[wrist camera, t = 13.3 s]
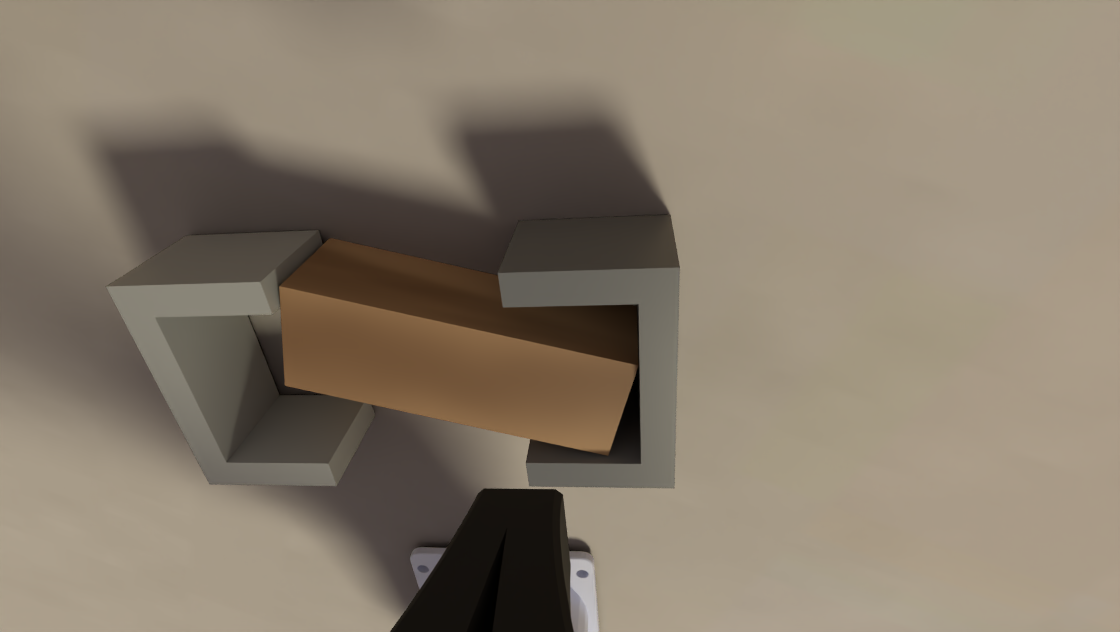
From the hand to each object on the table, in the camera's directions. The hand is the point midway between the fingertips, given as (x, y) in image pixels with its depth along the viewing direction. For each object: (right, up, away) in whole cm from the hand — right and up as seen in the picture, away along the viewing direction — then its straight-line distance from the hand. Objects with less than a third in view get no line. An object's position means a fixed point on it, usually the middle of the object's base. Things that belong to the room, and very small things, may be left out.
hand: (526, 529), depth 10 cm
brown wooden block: (-2, +4, +10) cm, 11 cm away
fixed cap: (+2, +3, +9) cm, 10 cm away
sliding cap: (-9, +3, +11) cm, 14 cm away
